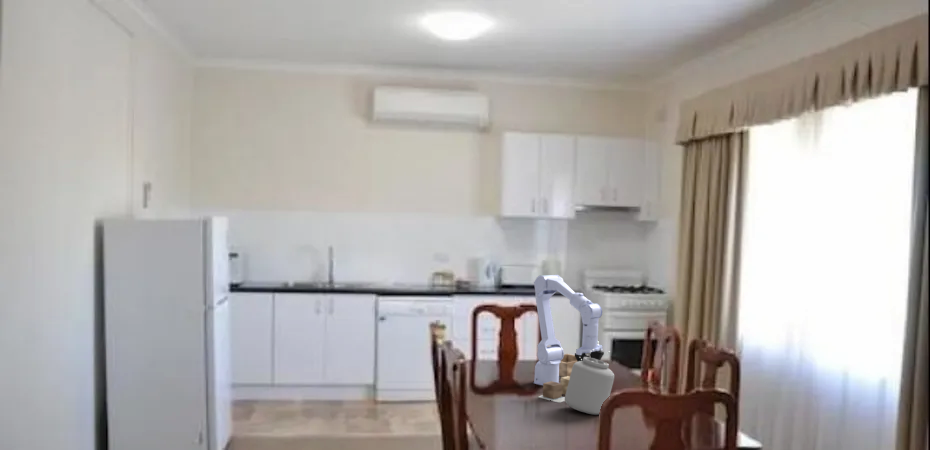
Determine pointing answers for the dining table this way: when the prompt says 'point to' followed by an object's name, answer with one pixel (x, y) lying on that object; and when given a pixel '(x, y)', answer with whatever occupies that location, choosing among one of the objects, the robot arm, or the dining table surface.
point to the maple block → (564, 384)
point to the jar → (589, 385)
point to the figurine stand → (566, 365)
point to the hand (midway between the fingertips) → (588, 371)
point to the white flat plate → (554, 399)
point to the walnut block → (552, 390)
